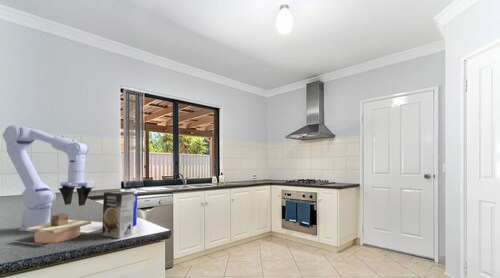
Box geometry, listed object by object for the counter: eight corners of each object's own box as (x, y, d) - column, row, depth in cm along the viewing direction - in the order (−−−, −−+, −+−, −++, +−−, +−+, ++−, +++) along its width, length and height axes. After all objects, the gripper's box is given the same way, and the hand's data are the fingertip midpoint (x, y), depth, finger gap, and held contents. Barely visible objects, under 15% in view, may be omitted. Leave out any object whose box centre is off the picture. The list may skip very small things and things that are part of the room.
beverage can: (131, 228, 108) (132, 191, 109) (120, 228, 109) (121, 191, 110) (139, 225, 113) (140, 190, 114) (128, 225, 114) (129, 190, 115)
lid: (24, 230, 91) (25, 217, 91) (63, 221, 104) (64, 210, 105) (54, 233, 87) (55, 220, 87) (91, 223, 100) (91, 212, 100)
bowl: (25, 242, 91) (25, 230, 91) (61, 232, 103) (62, 221, 103) (52, 245, 87) (53, 233, 87) (87, 235, 99) (88, 224, 99)
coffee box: (100, 236, 97) (102, 192, 98) (115, 232, 103) (117, 190, 104) (119, 239, 93) (120, 193, 95) (133, 234, 99) (134, 191, 101)
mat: (58, 231, 105) (58, 229, 105) (91, 222, 119) (91, 221, 119) (87, 234, 100) (88, 232, 100) (118, 224, 115) (118, 223, 115)
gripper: (53, 171, 107) (51, 205, 106) (81, 172, 103) (79, 207, 102) (70, 171, 114) (68, 202, 113) (96, 171, 110) (95, 204, 109)
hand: (74, 204), depth 108 cm, fingers open, 7 cm apart
